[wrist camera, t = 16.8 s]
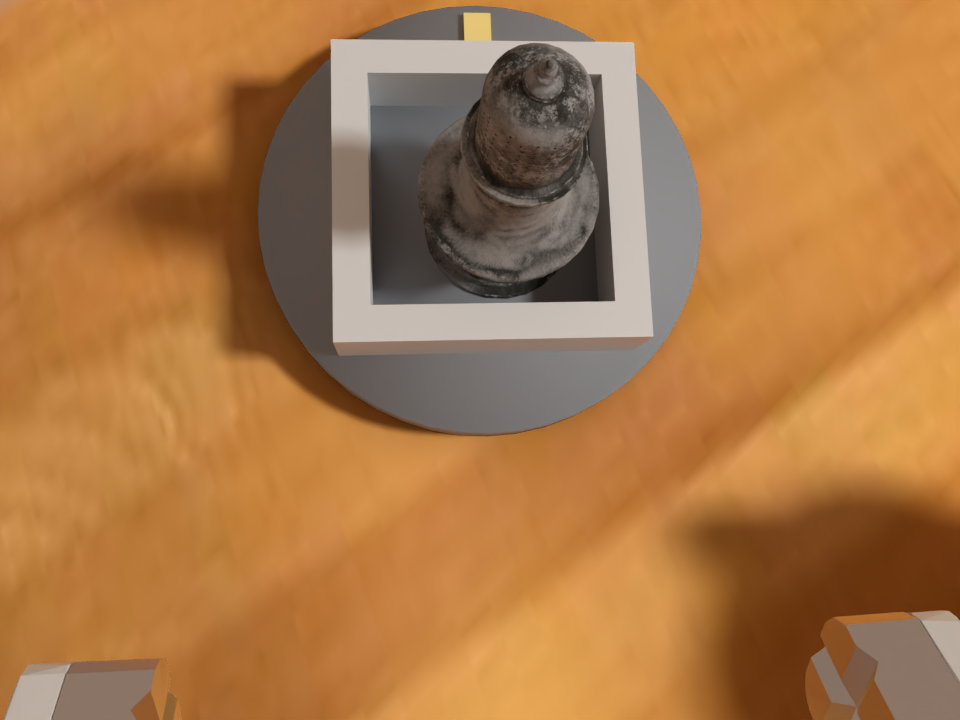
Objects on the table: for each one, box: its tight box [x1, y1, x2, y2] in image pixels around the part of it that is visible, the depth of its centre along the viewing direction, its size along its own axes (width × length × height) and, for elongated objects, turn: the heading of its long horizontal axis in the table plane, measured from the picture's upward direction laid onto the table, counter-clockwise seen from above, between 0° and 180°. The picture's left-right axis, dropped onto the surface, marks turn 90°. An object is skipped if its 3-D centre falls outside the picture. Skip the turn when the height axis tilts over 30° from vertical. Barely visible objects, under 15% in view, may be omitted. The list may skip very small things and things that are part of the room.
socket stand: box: [258, 6, 701, 436], centre depth 32 cm, size 16×16×4 cm
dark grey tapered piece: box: [418, 43, 599, 299], centre depth 26 cm, size 6×6×12 cm
